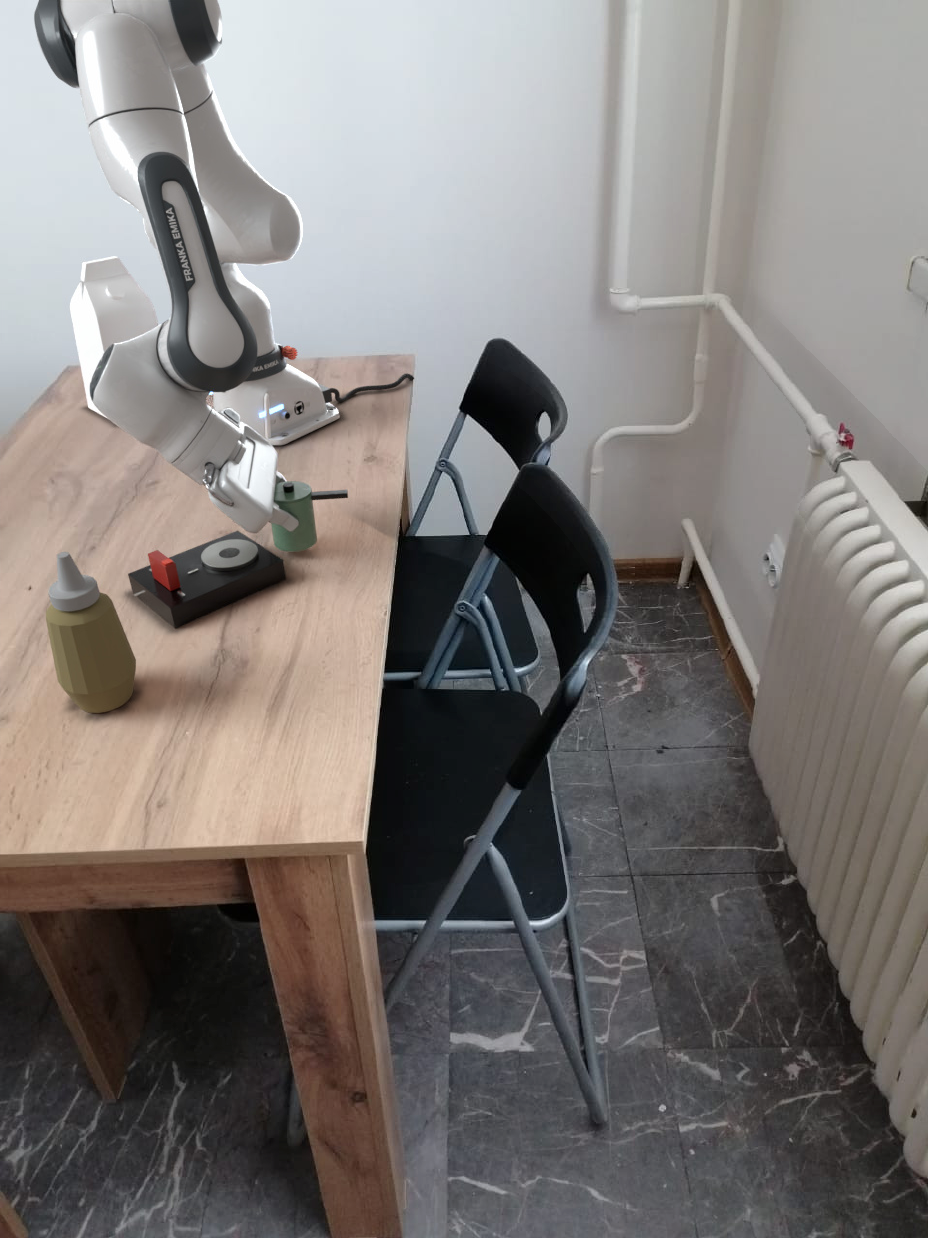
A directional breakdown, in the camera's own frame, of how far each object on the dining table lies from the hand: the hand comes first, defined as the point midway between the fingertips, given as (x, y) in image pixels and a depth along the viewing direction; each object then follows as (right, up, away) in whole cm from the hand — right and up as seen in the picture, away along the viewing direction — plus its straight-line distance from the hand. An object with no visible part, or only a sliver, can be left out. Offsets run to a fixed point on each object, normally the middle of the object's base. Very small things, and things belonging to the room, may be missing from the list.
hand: (296, 512), depth 125 cm
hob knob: (-14, -10, -9) cm, 20 cm away
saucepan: (+1, -3, +3) cm, 5 cm away
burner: (-8, -6, -4) cm, 11 cm away
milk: (-39, +25, +48) cm, 66 cm away
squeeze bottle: (-17, -23, -23) cm, 36 cm away
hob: (-10, -10, -4) cm, 15 cm away
